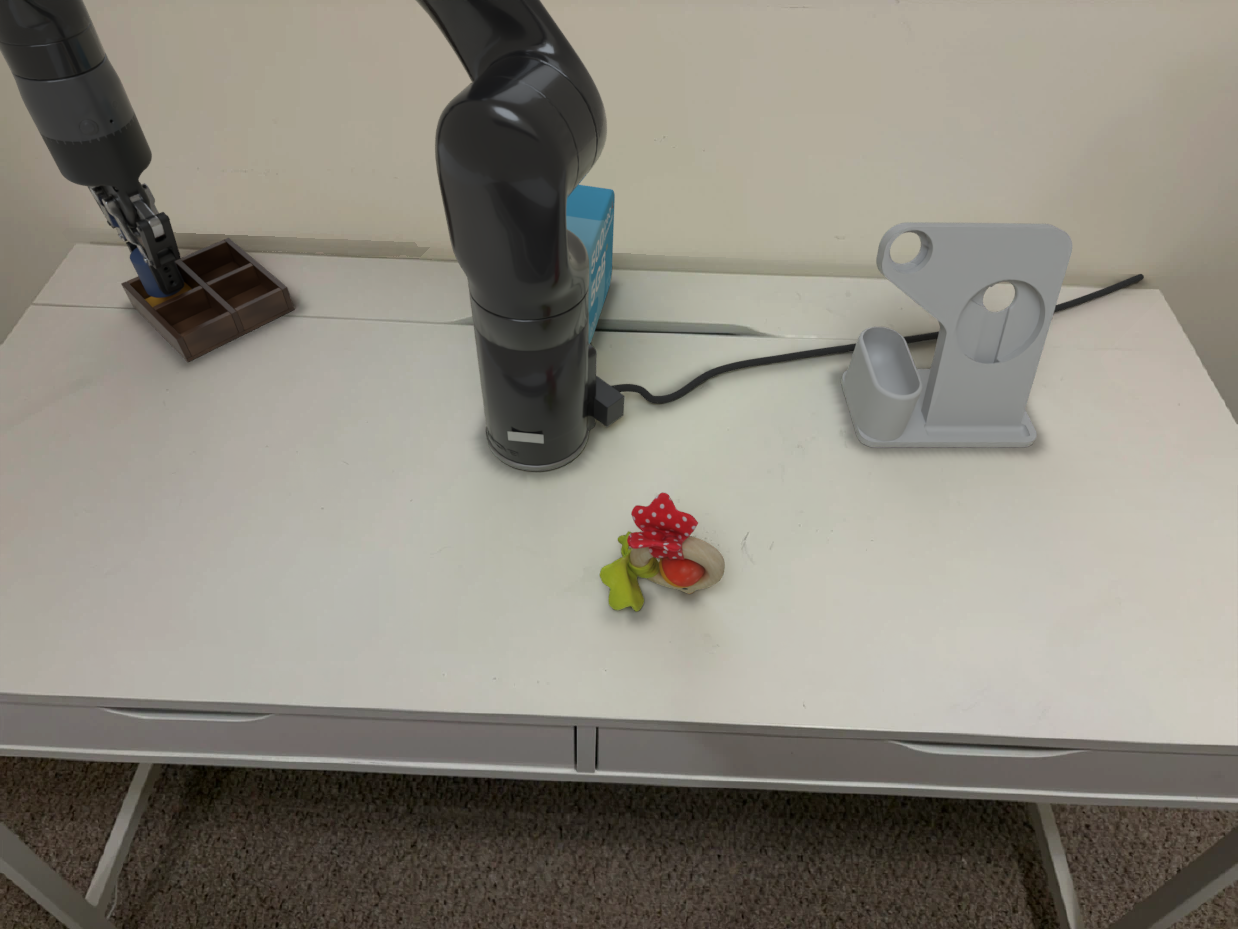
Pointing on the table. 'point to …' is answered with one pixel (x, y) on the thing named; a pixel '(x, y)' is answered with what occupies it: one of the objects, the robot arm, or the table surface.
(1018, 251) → the phone holder
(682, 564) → the bird rattle
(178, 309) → the grid
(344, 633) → the table surface
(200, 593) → the table surface
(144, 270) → the blue cylinder
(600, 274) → the data package
